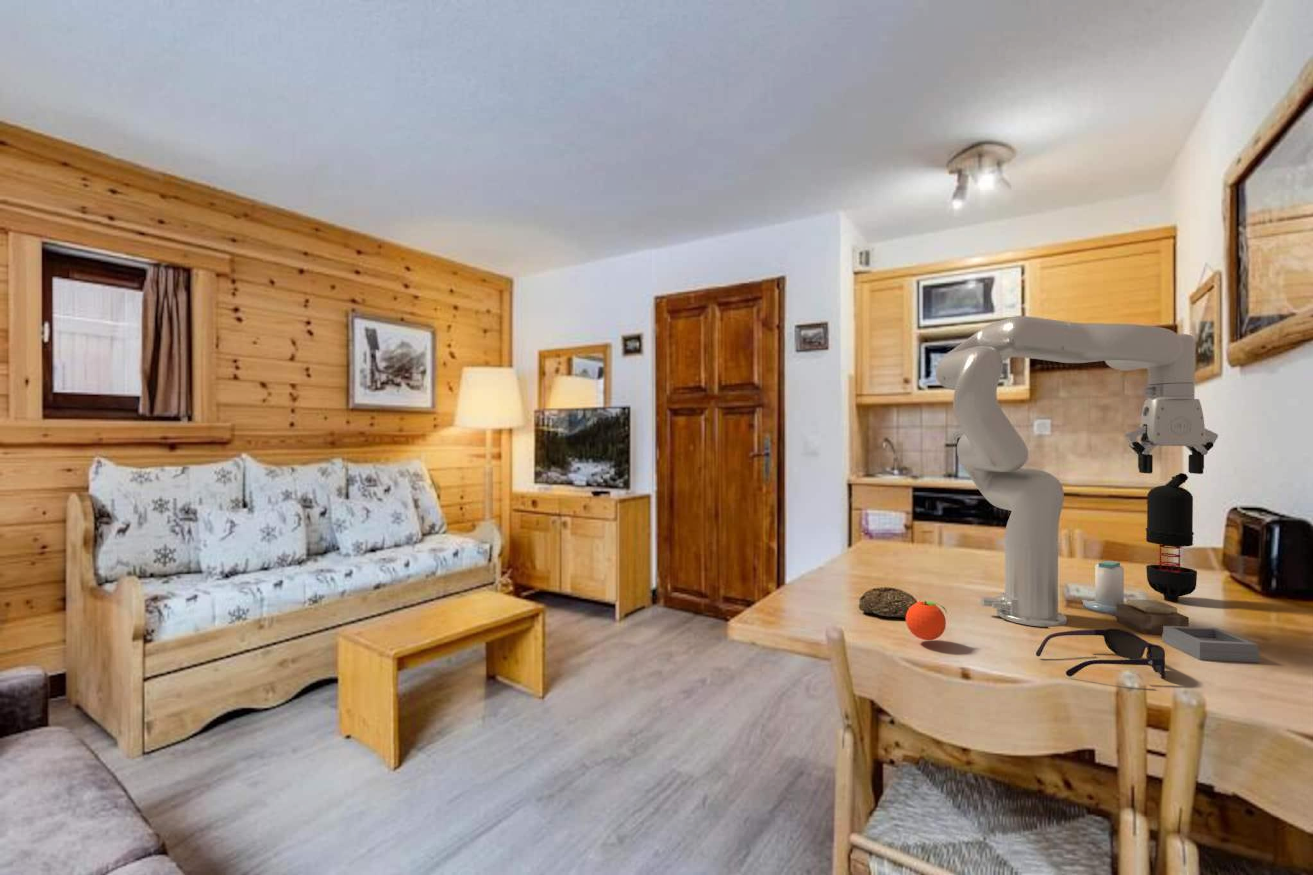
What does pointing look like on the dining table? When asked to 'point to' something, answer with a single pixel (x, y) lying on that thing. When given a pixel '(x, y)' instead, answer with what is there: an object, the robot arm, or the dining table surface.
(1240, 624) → the dining table surface
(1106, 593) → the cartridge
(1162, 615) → the button housing
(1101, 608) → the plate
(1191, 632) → the socket
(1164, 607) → the button
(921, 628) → the clementine
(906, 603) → the dark brown domed lump
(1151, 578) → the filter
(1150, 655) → the sunglasses
